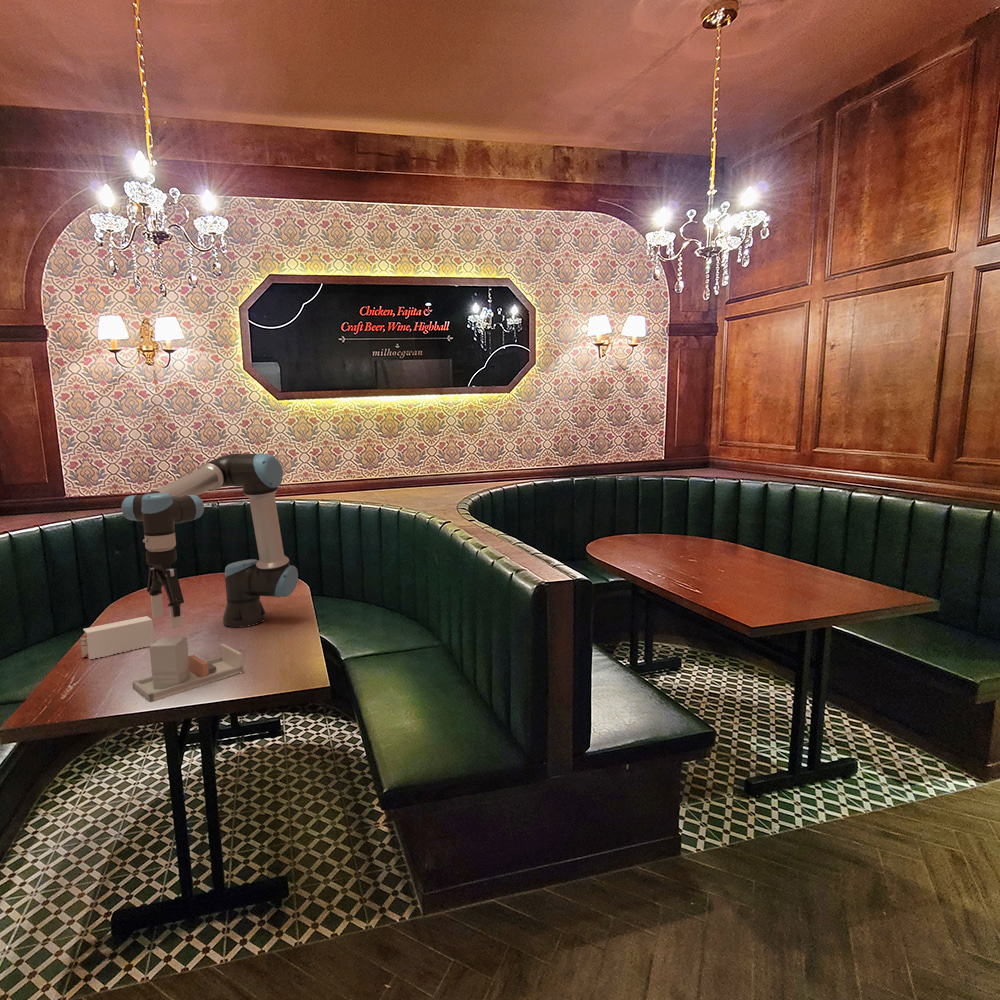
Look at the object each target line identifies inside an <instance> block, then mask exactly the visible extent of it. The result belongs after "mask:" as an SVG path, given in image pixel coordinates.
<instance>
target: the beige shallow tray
mask: <svg viewBox="0 0 1000 1000" xmlns="http://www.w3.org/2000/svg"><path fill="white" fill-rule="evenodd" d="M219 655H220V656H218V657H217V656H216V657H213V658H211V659H206V660H204V661H205V662H207V663H208V664H212V665H214V666H215V667H216V671H214V672H211V673H209V675H208V676H205V677H202V678H201V677H200V676H198V675H196V674H195V673H193V672H192V671H190V678H189V679H188V680H187V681H186V682H185V683H182V684H179V685H175V686H172V687H169V688H153V678H152V675H150V676H148V677H147V676H146V677H144V678H140V679H136V680H133V681H132V683H131V684H132V689H133V690H134V691H135V692H137V693H138V694H141V696H142V697H143V698H144V699H145V700H147V701H148V702H149V703H151V702H154V701H157V700H160V699H164V698H167V697H169V696H170V697H171V696H173V695H176V694H179V693H183V692H185V690H186V691H189V690H192V689H191V688H193V689H196V688H198V687H197V686H199V687H201V686H200V685H202V686H205V685H208V684H211V683H210V682H212V683H214V682H213V681H215V682H217V681H216V680H218V681H220V680H219V679H221V680H223V679H222V678H224V679H226V678H225V677H228V676H231V675H234V674H237V673H240V672H243V673H244V665H243V663H244V661H243V653H242V652H240V651H238V650H237V649H234V648H232V647H231V646H229V645H227V644H225V643H220V644H219ZM240 674H241V673H240ZM237 675H238V674H237ZM234 676H235V675H234ZM231 677H232V676H231ZM228 678H229V677H228ZM207 683H208V684H207ZM204 684H205V685H204ZM195 687H196V688H195ZM188 689H189V690H188Z"/></svg>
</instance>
